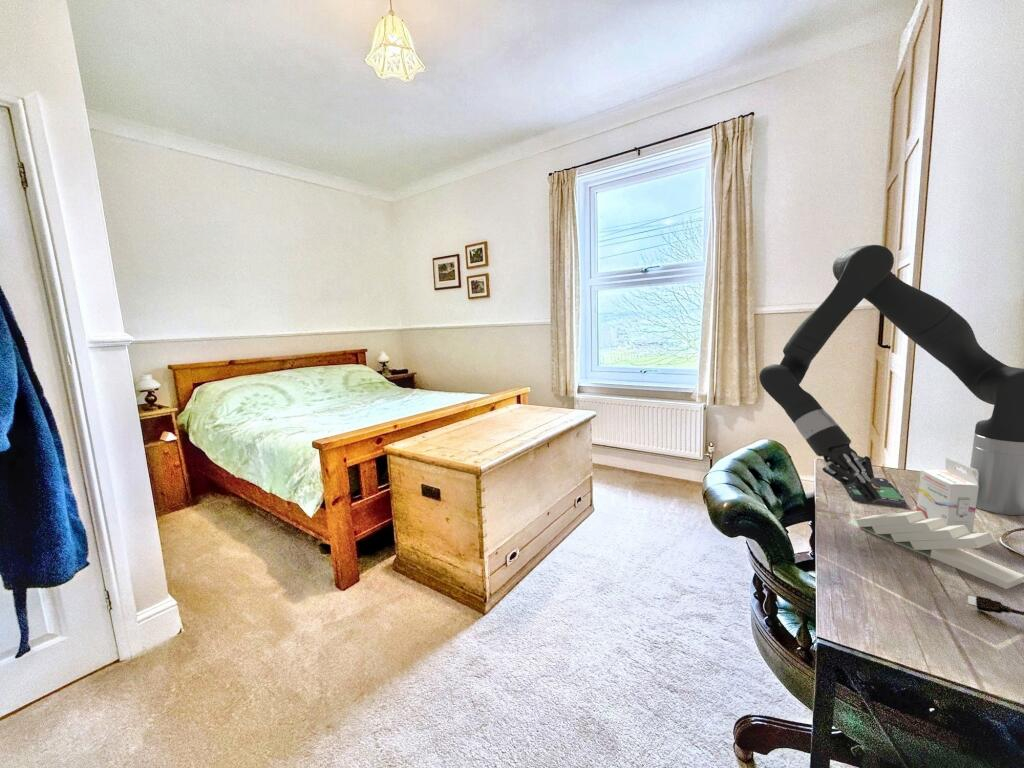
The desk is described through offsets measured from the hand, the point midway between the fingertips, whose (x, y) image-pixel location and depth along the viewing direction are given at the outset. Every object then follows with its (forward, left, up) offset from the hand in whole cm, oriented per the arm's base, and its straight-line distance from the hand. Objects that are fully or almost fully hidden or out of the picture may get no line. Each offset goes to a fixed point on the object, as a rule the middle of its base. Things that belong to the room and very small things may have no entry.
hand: (875, 500), depth 87 cm
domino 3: (0, +5, -6) cm, 7 cm away
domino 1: (0, -2, -6) cm, 6 cm away
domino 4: (0, +8, -5) cm, 10 cm away
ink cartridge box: (-14, +5, -7) cm, 16 cm away
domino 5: (0, +11, -5) cm, 12 cm away
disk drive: (-19, -12, -7) cm, 23 cm away
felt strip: (0, +4, -7) cm, 8 cm away
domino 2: (0, +2, -6) cm, 6 cm away
